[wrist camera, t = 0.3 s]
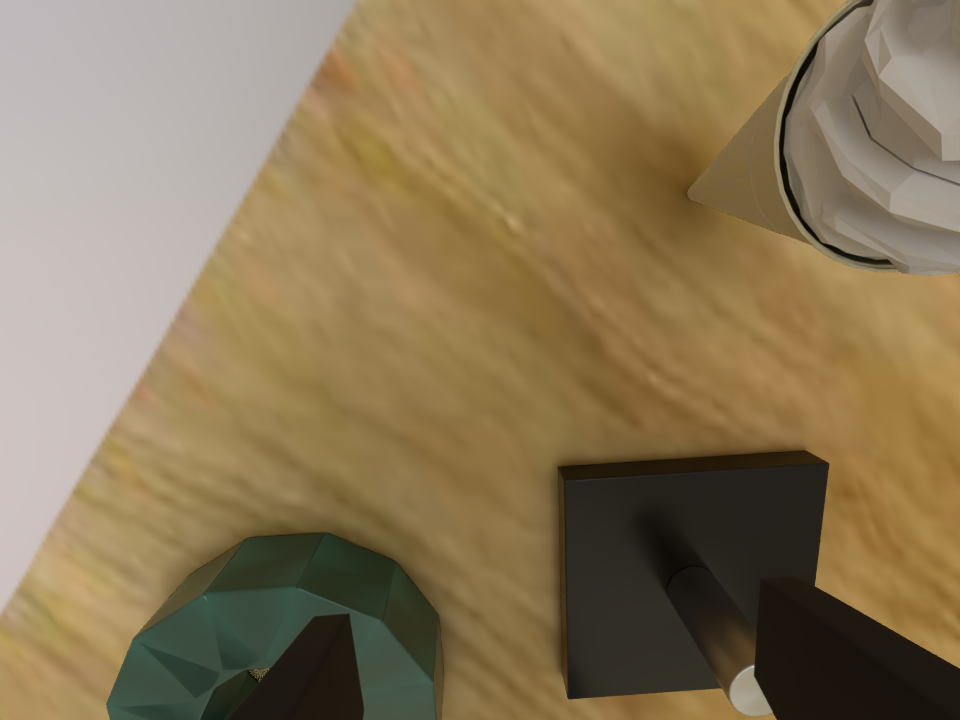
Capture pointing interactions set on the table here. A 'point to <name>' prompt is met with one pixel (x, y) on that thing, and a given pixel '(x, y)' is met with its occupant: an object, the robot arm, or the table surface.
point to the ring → (282, 631)
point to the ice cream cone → (858, 142)
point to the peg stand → (680, 568)
